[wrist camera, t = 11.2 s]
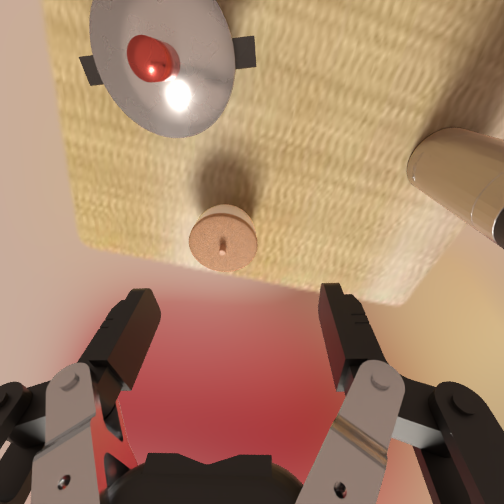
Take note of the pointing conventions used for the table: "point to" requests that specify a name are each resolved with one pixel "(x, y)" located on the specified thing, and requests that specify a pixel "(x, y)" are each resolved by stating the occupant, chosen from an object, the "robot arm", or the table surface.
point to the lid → (164, 61)
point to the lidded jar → (224, 238)
